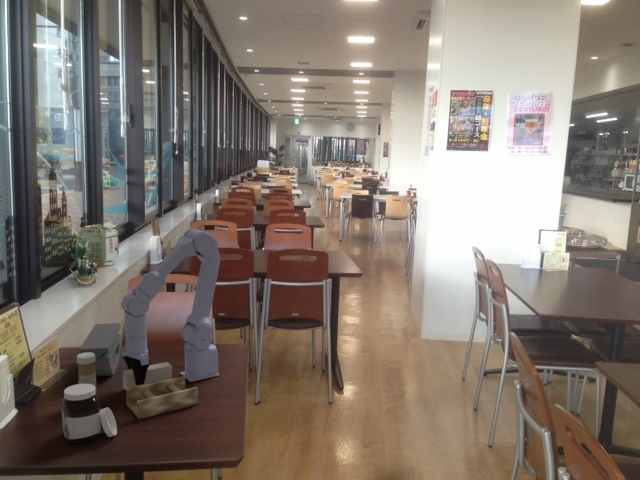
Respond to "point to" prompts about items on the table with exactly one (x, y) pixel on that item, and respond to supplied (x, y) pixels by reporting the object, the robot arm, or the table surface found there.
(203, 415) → the table surface
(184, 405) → the wooden compartment tray
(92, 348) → the grey long box
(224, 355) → the table surface
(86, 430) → the spread jar
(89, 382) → the sprinkles bottle
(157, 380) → the grayish beige rectangular block
